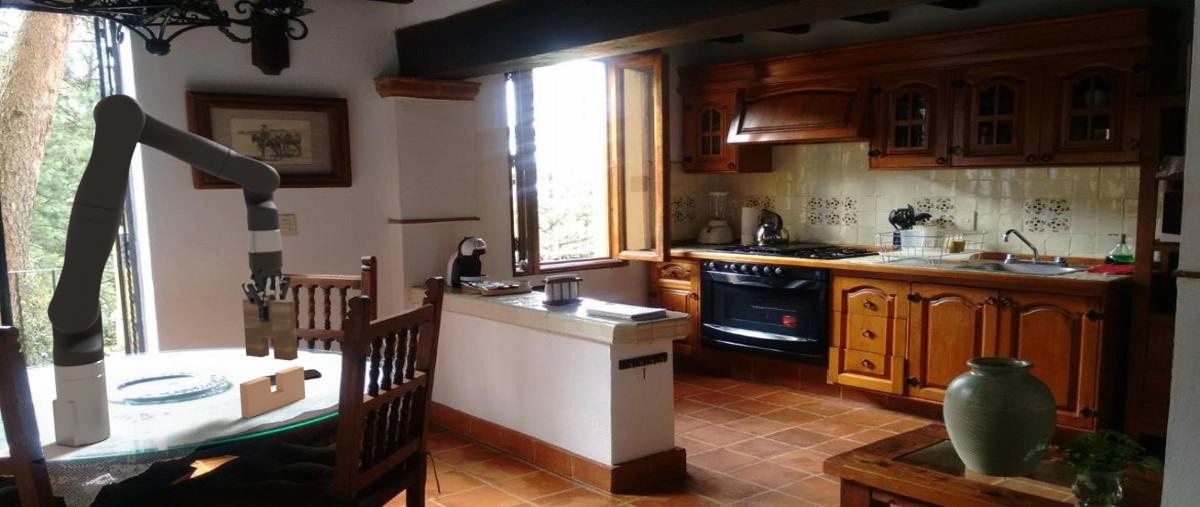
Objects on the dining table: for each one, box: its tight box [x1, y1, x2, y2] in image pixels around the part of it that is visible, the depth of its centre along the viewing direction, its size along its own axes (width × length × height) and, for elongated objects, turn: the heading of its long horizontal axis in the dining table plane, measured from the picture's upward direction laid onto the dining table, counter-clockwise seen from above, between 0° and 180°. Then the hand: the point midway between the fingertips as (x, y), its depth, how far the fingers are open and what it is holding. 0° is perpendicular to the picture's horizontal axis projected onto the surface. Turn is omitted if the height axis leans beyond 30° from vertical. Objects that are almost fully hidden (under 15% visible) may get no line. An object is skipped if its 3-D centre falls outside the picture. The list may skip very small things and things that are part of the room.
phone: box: [262, 368, 322, 386], centre depth 227 cm, size 8×1×15 cm
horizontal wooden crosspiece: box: [239, 365, 306, 419], centre depth 200 cm, size 18×2×8 cm, turn 157°
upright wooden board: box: [242, 297, 299, 362], centre depth 198 cm, size 2×14×14 cm, turn 66°
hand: (269, 320), depth 198 cm, fingers closed on upright wooden board, 2 cm apart
